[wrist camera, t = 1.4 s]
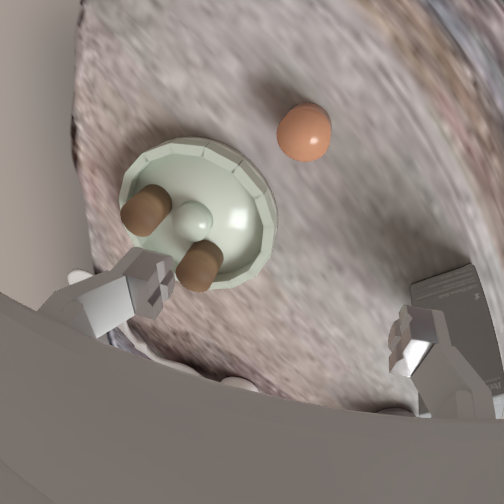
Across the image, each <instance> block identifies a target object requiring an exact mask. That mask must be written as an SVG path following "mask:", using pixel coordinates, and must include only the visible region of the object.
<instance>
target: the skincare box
mask: <svg viewBox="0 0 504 504" xmlns="http://www.w3.org/2000/svg"><path fill="white" fill-rule="evenodd" d="M410 292H411V300H412V306H414V307H420V308H425V309H433V310H439V311H442V312H443V313H444V316H445V320H446V324H447V328H448V332H449V337H450V341H451V346H455V347H456V348H457V349H458V351H459V352H460V353H461V354H462V355H463V357H464V358H465V359H466V360H467V361H468V363H469V364H470V365H471V366H472V367H473V369H474V370H475V371H476V372H477V374H478V375H479V376H480V377H481V379H482V380H483V381H484V382H485V384H486V385H487V386H488V387H489V389H490V390H491V392H492V398H493V403H494V409H495V415H496V419H499V418H501V417H502V416H503V411H504V371H503V366H502V361H501V356H500V351H499V346H498V342H497V338H496V334H495V330H494V326H493V322H492V318H491V315H490V311H489V308H488V304H487V301H486V298H485V295H484V291H483V288H482V285H481V282H480V279H479V276H478V274H477V271H476V268H475V266H474V265H472V263H471V264H468V265H466V266H464V267H461V268H459V269H456V270H453V271H450V272H447V273H444V274H441V275H438V276H435V277H432V278H429V279H426V280H423V281H421V282H418V283H415V284H412V285H410ZM418 396H419V417H420V418H431V417H432V416H431V414H430V412H429V410H428V409H427V407H426V405H425V403H424V401H423V399H422V397H421V396H420V394H419V392H418Z"/></svg>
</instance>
